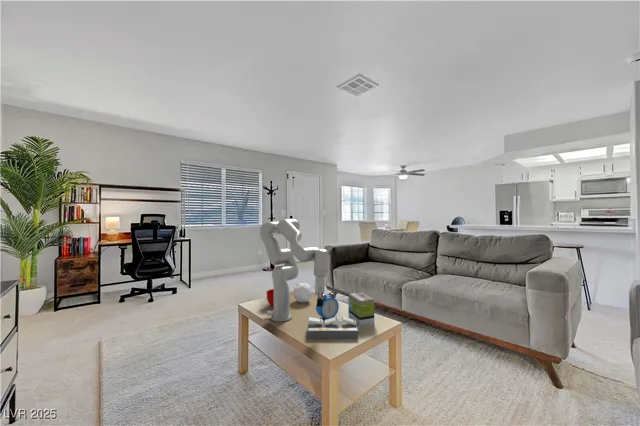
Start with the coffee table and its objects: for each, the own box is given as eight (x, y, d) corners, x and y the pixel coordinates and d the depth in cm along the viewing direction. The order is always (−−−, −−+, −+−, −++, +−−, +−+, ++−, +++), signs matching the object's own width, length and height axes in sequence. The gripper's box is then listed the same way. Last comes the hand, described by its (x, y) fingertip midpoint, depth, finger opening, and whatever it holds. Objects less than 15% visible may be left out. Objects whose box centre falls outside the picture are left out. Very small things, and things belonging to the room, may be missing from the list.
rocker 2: (325, 325, 147) (324, 322, 147) (325, 322, 151) (324, 319, 151) (338, 321, 147) (338, 319, 147) (338, 318, 152) (337, 316, 152)
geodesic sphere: (292, 298, 189) (304, 280, 193) (284, 293, 201) (295, 276, 205) (308, 308, 194) (319, 291, 199) (299, 303, 207) (310, 286, 211)
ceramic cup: (277, 300, 204) (277, 286, 204) (288, 306, 190) (288, 291, 190) (260, 303, 196) (260, 289, 196) (271, 310, 183) (271, 295, 183)
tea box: (347, 317, 171) (347, 293, 171) (362, 315, 174) (362, 291, 174) (359, 326, 157) (359, 300, 157) (375, 324, 160) (375, 298, 160)
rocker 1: (308, 322, 147) (308, 319, 147) (308, 319, 151) (309, 316, 151) (322, 324, 147) (322, 321, 147) (322, 321, 151) (322, 318, 151)
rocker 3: (342, 321, 147) (343, 319, 147) (341, 318, 152) (342, 316, 152) (355, 325, 147) (356, 322, 147) (354, 322, 152) (355, 319, 152)
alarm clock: (320, 321, 163) (320, 296, 163) (315, 318, 169) (315, 293, 169) (339, 317, 170) (339, 293, 170) (333, 314, 175) (333, 290, 175)
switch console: (307, 338, 141) (307, 328, 141) (308, 328, 154) (308, 319, 154) (358, 338, 141) (358, 329, 141) (355, 328, 154) (355, 319, 154)
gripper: (314, 269, 157) (313, 301, 157) (313, 275, 142) (312, 311, 142) (327, 269, 157) (326, 301, 157) (328, 276, 142) (327, 311, 142)
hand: (319, 306), depth 150 cm, fingers closed
